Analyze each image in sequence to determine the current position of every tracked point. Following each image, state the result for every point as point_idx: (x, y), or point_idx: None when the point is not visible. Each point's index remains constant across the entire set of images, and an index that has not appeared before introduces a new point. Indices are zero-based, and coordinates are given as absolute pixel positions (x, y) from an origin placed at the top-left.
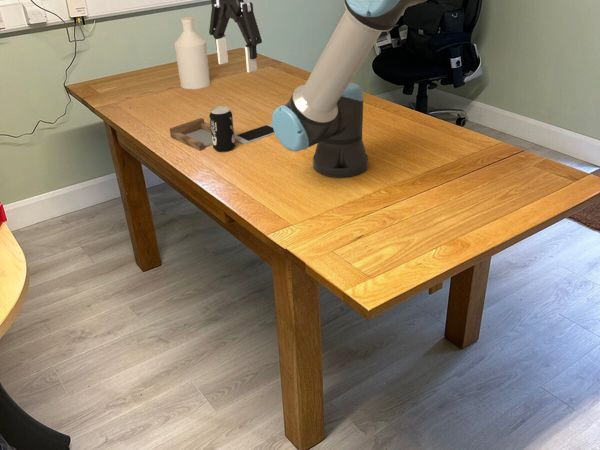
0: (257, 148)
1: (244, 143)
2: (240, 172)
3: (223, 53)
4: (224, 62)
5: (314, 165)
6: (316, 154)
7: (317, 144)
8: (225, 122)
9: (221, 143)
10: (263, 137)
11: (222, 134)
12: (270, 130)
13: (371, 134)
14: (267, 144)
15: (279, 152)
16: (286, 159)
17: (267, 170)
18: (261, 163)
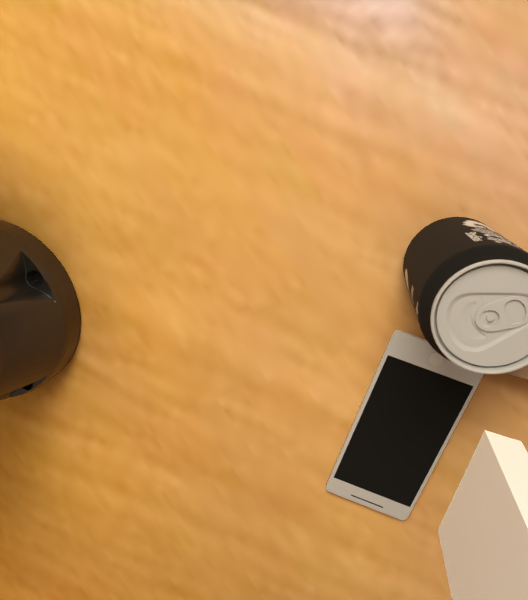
0: (321, 316)
1: (394, 332)
2: (249, 96)
3: (490, 589)
4: (460, 491)
5: (31, 244)
6: (2, 261)
7: (6, 302)
8: (427, 269)
9: (438, 227)
10: (359, 410)
11: (435, 240)
12: (364, 467)
13: (61, 537)
14: (308, 361)
15: (226, 317)
16: (170, 276)
17: (172, 164)
18: (227, 206)
